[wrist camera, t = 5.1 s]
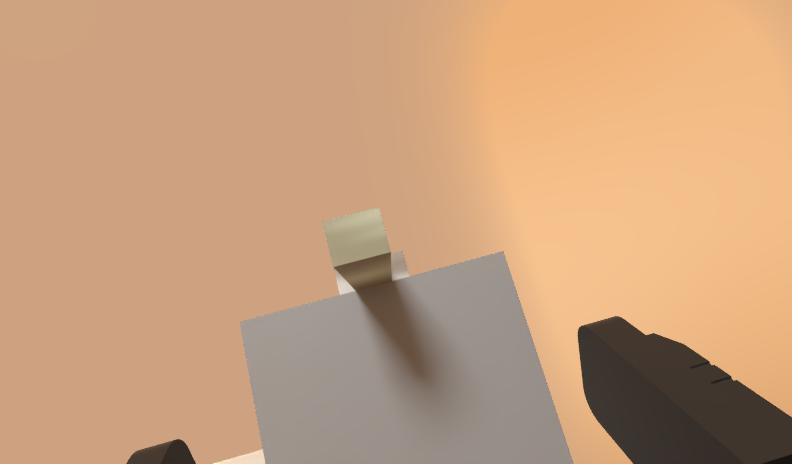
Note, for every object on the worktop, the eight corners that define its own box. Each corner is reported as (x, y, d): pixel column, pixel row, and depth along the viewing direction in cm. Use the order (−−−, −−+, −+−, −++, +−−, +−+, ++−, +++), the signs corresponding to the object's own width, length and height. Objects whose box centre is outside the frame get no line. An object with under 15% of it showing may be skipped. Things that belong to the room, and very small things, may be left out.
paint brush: (351, 307, 36) (344, 280, 37) (408, 292, 36) (400, 265, 37) (296, 276, 16) (283, 216, 16) (426, 242, 16) (409, 184, 17)
